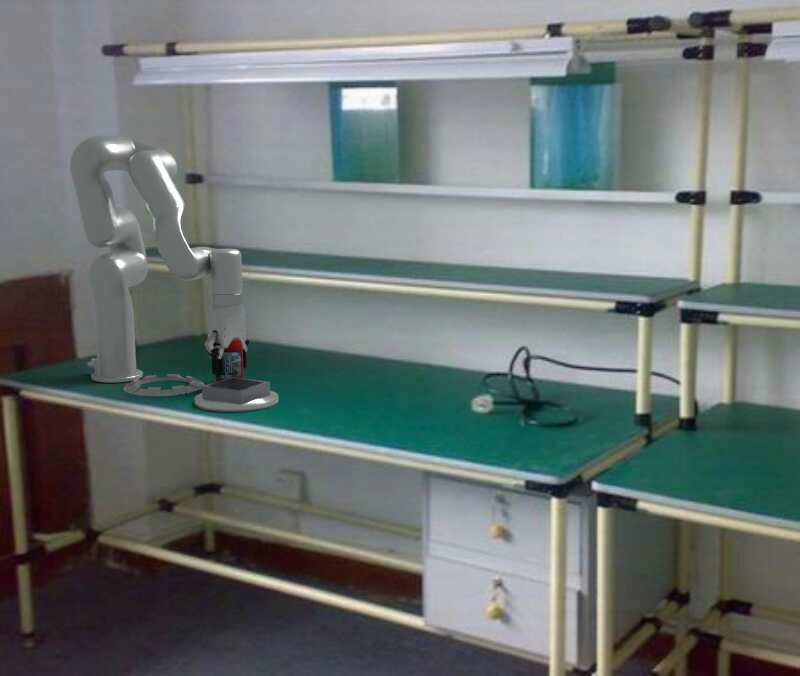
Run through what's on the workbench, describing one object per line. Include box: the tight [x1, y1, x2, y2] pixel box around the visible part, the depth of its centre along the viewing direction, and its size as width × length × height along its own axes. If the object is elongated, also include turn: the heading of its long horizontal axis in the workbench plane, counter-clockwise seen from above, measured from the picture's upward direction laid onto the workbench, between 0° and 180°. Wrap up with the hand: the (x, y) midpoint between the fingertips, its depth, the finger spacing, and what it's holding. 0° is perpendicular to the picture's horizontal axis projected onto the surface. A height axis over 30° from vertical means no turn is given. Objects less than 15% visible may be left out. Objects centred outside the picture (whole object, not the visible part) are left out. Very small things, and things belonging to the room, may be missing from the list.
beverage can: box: [215, 337, 244, 382], centre depth 276 cm, size 7×7×12 cm
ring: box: [122, 374, 206, 397], centre depth 276 cm, size 19×19×2 cm
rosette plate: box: [194, 377, 279, 413], centre depth 260 cm, size 19×19×4 cm
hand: (229, 370), depth 277 cm, fingers open, 8 cm apart
